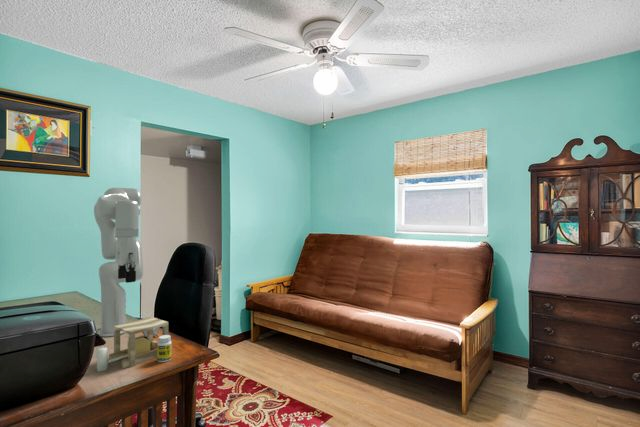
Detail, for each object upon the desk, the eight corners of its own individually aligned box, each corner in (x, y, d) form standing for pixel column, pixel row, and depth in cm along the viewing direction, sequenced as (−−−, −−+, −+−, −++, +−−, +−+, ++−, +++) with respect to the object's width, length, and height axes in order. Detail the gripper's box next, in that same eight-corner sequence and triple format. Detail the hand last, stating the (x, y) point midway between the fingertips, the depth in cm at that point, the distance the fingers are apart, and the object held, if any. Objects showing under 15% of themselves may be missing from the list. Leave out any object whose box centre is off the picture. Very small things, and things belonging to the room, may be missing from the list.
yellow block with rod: (93, 369, 117) (93, 348, 118) (142, 353, 131) (142, 334, 131) (101, 373, 114) (101, 352, 114) (150, 356, 128) (150, 337, 128)
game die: (145, 346, 148) (131, 328, 148) (161, 333, 155) (147, 316, 155) (153, 340, 143) (138, 321, 143) (170, 327, 150) (155, 309, 150)
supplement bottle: (156, 363, 122) (156, 339, 122) (157, 358, 126) (157, 335, 126) (171, 361, 124) (171, 337, 124) (171, 356, 128) (171, 333, 128)
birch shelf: (108, 360, 124) (108, 327, 124) (151, 346, 137) (151, 316, 138) (124, 369, 117) (124, 333, 118) (168, 353, 131) (168, 321, 131)
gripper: (109, 233, 131) (109, 278, 131) (122, 235, 118) (121, 285, 118) (131, 232, 136) (131, 275, 136) (145, 234, 123) (145, 282, 123)
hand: (126, 280), depth 127 cm, fingers open, 9 cm apart
